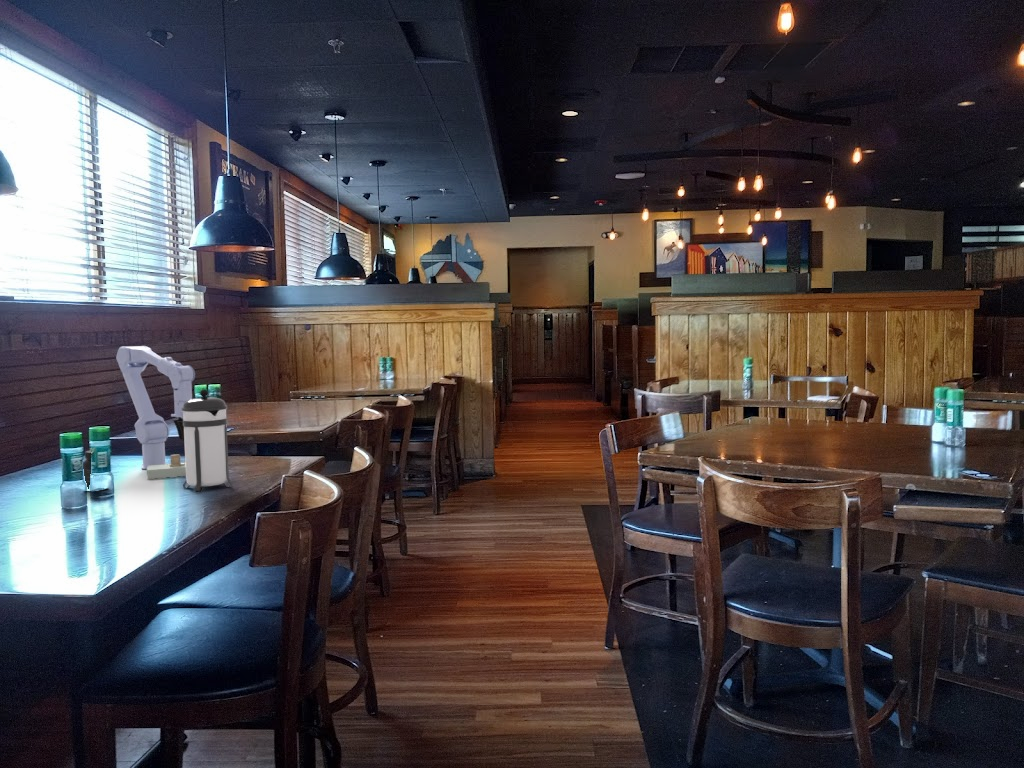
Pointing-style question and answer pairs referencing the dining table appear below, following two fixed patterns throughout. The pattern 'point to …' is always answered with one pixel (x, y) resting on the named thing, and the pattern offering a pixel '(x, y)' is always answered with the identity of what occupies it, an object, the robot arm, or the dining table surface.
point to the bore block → (165, 471)
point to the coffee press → (205, 442)
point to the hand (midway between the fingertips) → (185, 440)
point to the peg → (175, 460)
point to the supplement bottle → (87, 467)
